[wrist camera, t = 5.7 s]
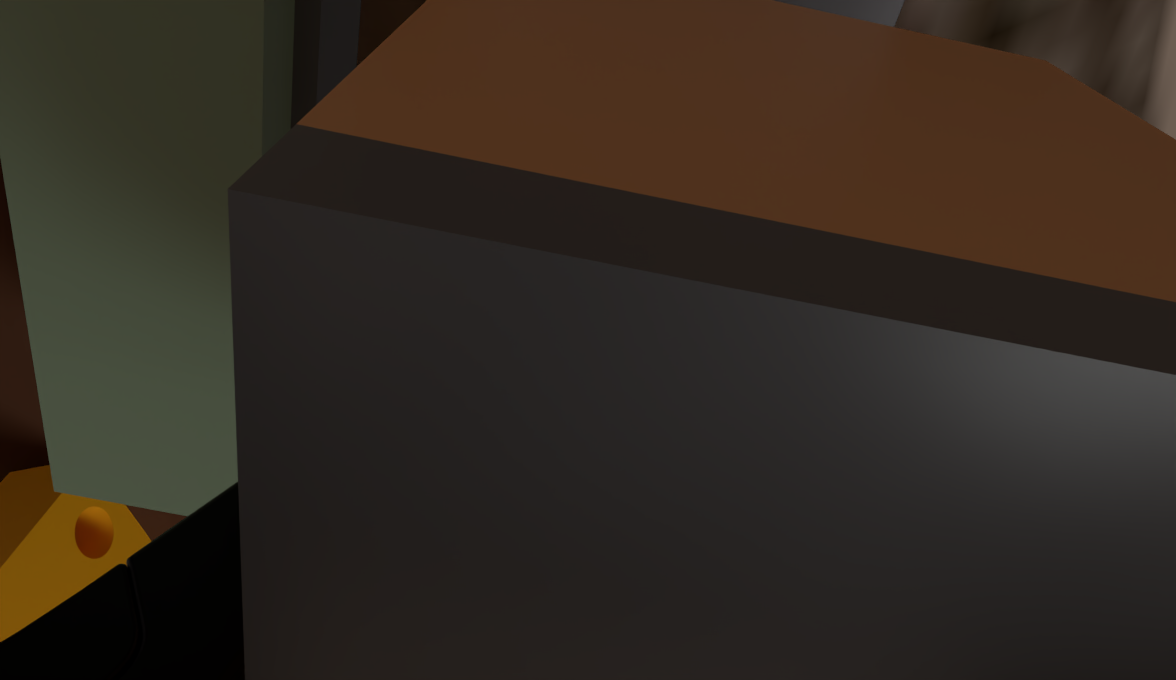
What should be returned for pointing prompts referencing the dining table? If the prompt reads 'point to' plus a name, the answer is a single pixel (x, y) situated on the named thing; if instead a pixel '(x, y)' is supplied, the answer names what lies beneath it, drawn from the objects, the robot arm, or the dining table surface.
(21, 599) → the pipe clamp
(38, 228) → the green long block
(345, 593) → the tan and grey block
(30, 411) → the dining table surface
